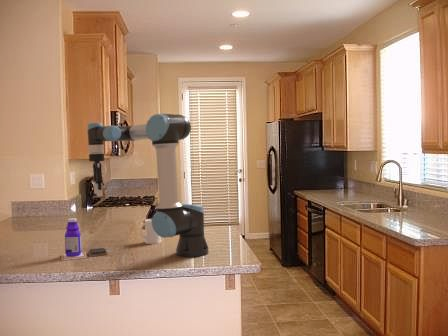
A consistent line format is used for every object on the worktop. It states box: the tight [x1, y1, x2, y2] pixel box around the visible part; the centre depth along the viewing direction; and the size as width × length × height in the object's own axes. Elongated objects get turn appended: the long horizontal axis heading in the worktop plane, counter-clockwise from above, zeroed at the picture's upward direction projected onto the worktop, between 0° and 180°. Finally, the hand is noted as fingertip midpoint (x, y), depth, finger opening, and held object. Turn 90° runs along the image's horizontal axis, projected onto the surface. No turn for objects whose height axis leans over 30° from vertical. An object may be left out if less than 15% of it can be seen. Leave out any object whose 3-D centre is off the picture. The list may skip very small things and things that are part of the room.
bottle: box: [64, 217, 82, 256], centre depth 213 cm, size 7×6×17 cm
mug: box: [139, 218, 162, 245], centre depth 239 cm, size 12×8×12 cm
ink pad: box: [87, 247, 108, 258], centre depth 218 cm, size 9×8×2 cm
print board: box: [60, 251, 88, 261], centre depth 214 cm, size 11×11×1 cm
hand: (98, 195), depth 231 cm, fingers open, 13 cm apart
